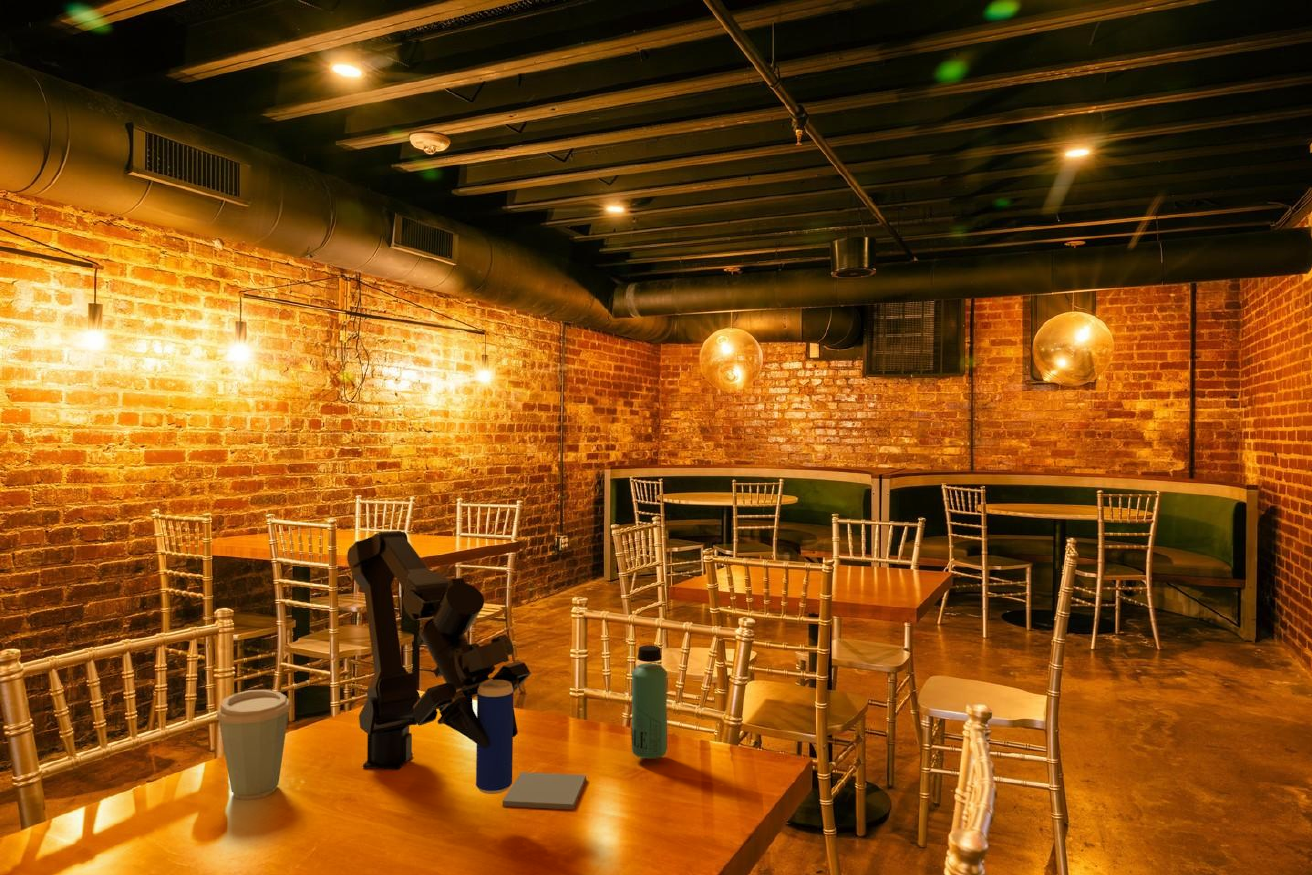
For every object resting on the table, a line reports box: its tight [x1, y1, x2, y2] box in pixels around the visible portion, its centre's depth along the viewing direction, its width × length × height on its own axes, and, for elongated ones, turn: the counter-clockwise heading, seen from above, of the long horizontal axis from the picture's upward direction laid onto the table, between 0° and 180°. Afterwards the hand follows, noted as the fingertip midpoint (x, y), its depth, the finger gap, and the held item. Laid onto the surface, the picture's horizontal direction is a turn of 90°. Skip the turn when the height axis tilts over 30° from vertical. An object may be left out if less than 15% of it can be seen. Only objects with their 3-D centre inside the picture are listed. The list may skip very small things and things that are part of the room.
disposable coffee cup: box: [216, 689, 292, 801], centre depth 129 cm, size 11×11×15 cm
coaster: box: [502, 771, 587, 811], centre depth 130 cm, size 11×11×1 cm
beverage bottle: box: [630, 644, 669, 759], centre depth 143 cm, size 6×7×20 cm
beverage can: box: [475, 680, 515, 795], centre depth 118 cm, size 5×5×15 cm
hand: (501, 740), depth 118 cm, fingers closed on beverage can, 5 cm apart
